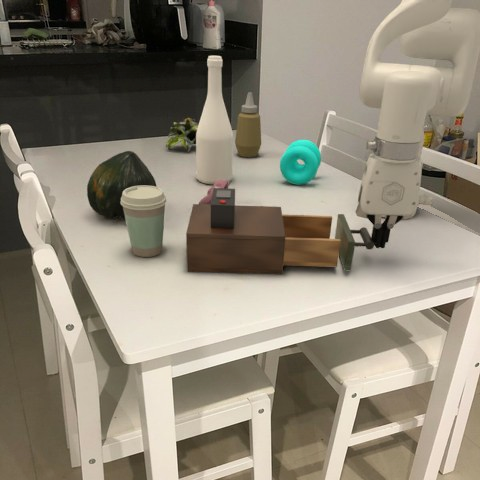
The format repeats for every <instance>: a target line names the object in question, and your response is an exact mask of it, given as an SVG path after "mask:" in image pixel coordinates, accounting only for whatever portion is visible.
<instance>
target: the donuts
mask: <svg viewBox="0 0 480 480" xmlns="http://www.w3.org/2000/svg"><path fill="white" fill-rule="evenodd" d="M299 160H300V161H302V162H303V164H301V163H300V162H299ZM279 161H280V162H279V168H280V173H281V175H282V177H283V178H284V179H285V180H286V181H287V182H288V183H289V184H293V185H297V186H301V185H305V184H308V183H309V182H311V181H313V179H314V178H315V177H316V175H317V173H318V170H319V168H320V165H321V161H322V154H321V151H320V148H319V147H318V146H317V145H316V143H314V142H312V141H311V140H309V139H298V140H295V141H292V142H291V143H290V144H289V146H288V147H287V148H286V149H285V151H284V152H283V154H282V156H281V158H280V160H279Z"/></svg>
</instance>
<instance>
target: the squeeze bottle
mask: <svg viewBox="0 0 480 480" xmlns="http://www.w3.org/2000/svg"><path fill="white" fill-rule="evenodd" d="M261 127H262V126H261V115H260V114H259V113H258V105H256V104H255V102H254V96H253V92H251V91H250V92H247V95H246V100H245V104H242V105H241V112H240V113H239V114H238V115H237V121H236V129H235V130H236V131H235V138H234V144H235V147H236V151H237V154H238V156H240V157H243V158H254V157H257V156H258V155H259V152H260V149H261V147H262V129H261Z"/></svg>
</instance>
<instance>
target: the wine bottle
mask: <svg viewBox="0 0 480 480" xmlns="http://www.w3.org/2000/svg"><path fill="white" fill-rule="evenodd" d="M206 60H207V61H206V63H207V64H206V65H207V68H208V69H207V70H208V71H207V94H206V99H205V102H204V105H203V109H202V112H201V116H200V119H199V122H198V129H197V133H196V144H195V157H196V159H195V160H196V161H195V162H196V178H197V180H198V181H199V182H201V184H205V185H211V186H213V185H214V183H215V182H216V181H218V180H221V179H223V180H227V181H228V182H229V183H230V182H231V180H232V179H233V165H234V163H233V159H234V155H233V154H234V133H233V130H232V125H231V122H230V118H229V116H228V115H229V114H228V112H227V108H226V104H225V102H224V97H223V89H222V88H223V84H222V83H223V82H222V81H223V79H222V77H223V76H222V68H223V63H224V62H223V58H222V56H221V55H208V57H207V59H206Z"/></svg>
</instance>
